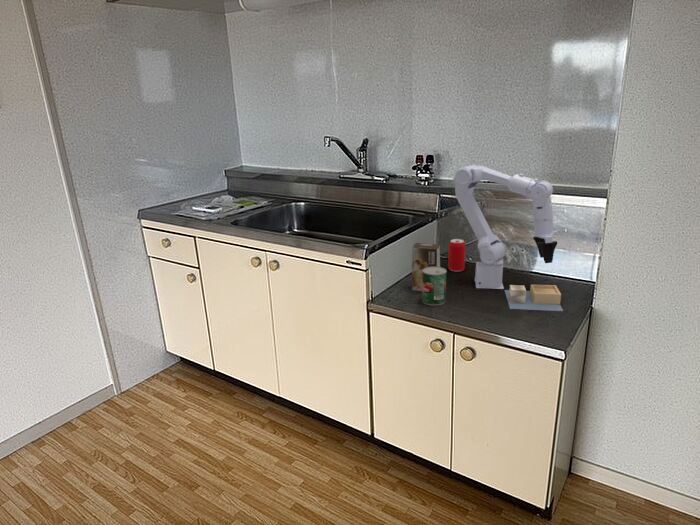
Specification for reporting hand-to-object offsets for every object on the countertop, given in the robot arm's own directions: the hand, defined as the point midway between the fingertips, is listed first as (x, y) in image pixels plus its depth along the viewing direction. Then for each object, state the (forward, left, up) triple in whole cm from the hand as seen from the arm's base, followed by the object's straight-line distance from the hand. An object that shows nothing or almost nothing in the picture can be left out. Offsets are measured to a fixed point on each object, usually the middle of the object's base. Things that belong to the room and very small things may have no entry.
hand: (546, 259), depth 161 cm
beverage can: (-28, +24, -13) cm, 39 cm away
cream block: (-9, -6, -13) cm, 16 cm away
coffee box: (-39, +3, -13) cm, 41 cm away
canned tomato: (-36, -8, -13) cm, 39 cm away
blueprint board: (-4, -5, -13) cm, 14 cm away
